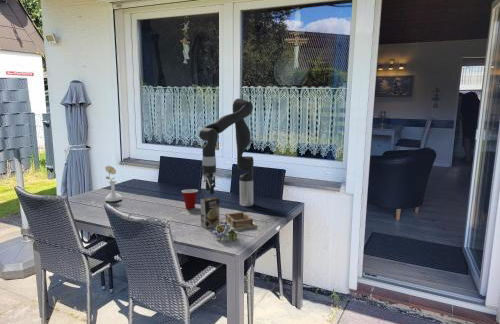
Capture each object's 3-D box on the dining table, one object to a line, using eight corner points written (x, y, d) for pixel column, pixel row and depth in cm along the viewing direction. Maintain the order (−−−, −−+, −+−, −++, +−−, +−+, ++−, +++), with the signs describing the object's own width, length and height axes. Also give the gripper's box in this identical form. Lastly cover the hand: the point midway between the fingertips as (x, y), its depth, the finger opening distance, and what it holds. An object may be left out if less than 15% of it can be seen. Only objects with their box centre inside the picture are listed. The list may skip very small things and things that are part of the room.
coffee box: (206, 228, 206) (205, 201, 203) (200, 225, 211) (199, 198, 208) (220, 225, 211) (219, 198, 208) (214, 222, 216) (213, 195, 213)
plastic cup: (198, 204, 251) (197, 187, 248) (198, 209, 240) (198, 191, 238) (182, 205, 249) (181, 188, 247) (181, 210, 238) (181, 192, 236)
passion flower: (219, 250, 190) (207, 231, 191) (232, 240, 198) (219, 221, 199) (232, 243, 183) (219, 223, 183) (245, 233, 191) (232, 214, 192)
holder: (221, 221, 218) (221, 214, 217) (246, 218, 223) (246, 211, 223) (230, 230, 203) (230, 222, 202) (257, 226, 209) (257, 219, 208)
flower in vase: (125, 200, 263) (123, 165, 258) (111, 203, 254) (108, 168, 249) (114, 197, 270) (112, 163, 266) (100, 200, 261) (97, 166, 257)
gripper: (199, 162, 210) (200, 190, 212) (206, 166, 197) (206, 196, 199) (212, 161, 212) (212, 188, 215) (219, 165, 199) (220, 194, 202)
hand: (209, 192), depth 207 cm, fingers open, 8 cm apart
